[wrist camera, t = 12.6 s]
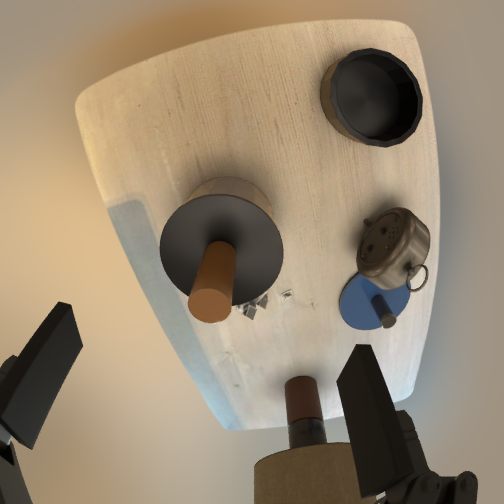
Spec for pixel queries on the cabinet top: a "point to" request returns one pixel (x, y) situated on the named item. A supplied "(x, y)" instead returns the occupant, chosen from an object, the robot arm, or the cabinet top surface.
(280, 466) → the lamp
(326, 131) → the cabinet top surface
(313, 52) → the cabinet top surface
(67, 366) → the robot arm
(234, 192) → the pot
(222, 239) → the lid
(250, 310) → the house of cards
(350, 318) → the pot lid
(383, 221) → the alarm clock
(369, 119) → the pan
